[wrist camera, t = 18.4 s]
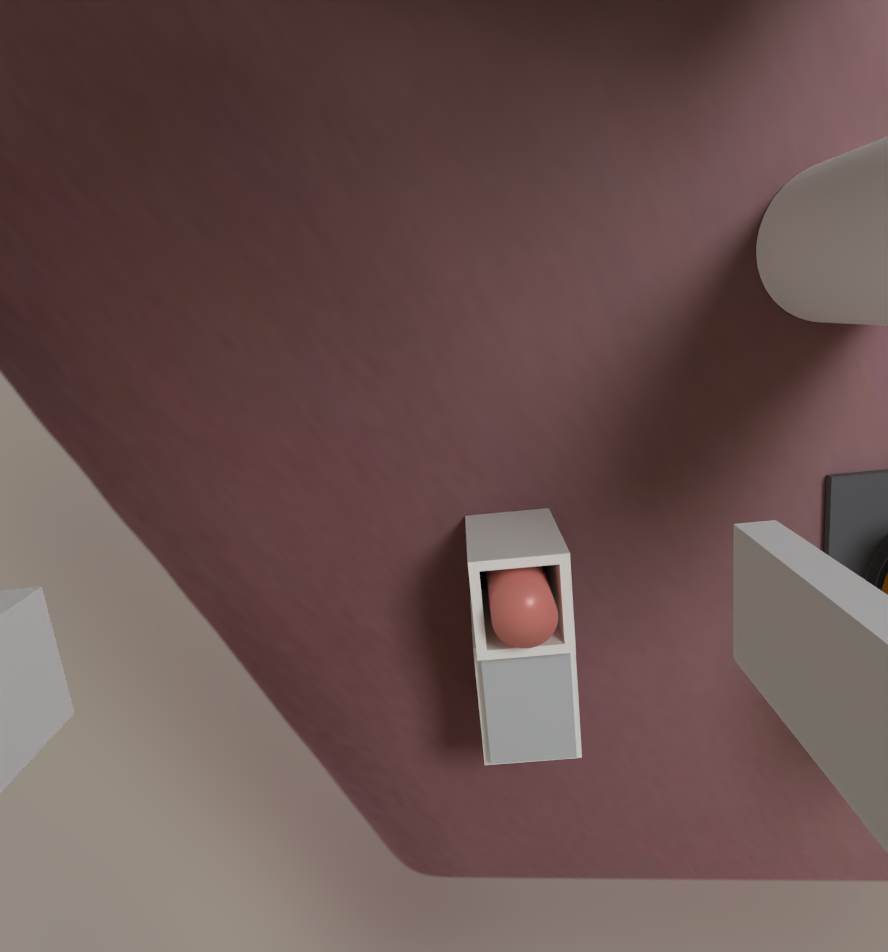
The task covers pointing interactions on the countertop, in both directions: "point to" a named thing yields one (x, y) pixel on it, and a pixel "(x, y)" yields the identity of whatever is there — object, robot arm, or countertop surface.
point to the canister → (879, 569)
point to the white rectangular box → (524, 669)
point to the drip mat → (856, 518)
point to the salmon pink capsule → (521, 606)
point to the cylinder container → (830, 240)
